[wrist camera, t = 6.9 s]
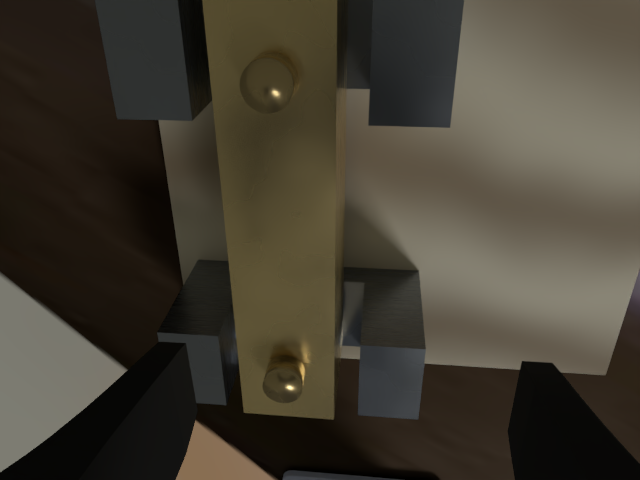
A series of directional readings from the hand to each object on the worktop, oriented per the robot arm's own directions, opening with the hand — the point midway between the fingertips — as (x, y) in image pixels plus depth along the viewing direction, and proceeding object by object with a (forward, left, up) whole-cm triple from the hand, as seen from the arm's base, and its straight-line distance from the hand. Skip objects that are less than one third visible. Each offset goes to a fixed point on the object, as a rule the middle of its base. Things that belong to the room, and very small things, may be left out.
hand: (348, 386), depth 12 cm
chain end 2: (-4, +2, -9) cm, 10 cm away
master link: (+1, +2, -8) cm, 8 cm away
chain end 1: (+6, +2, -9) cm, 11 cm away
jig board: (+1, -1, -10) cm, 10 cm away
